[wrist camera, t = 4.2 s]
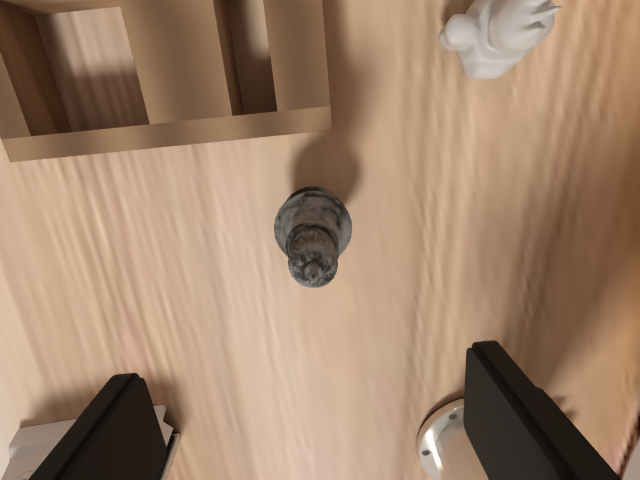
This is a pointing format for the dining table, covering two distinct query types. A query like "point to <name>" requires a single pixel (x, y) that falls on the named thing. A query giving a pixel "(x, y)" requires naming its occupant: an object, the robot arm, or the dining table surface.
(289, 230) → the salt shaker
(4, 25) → the frame
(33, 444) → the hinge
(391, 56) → the dining table surface
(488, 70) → the white rounded irregular piece
